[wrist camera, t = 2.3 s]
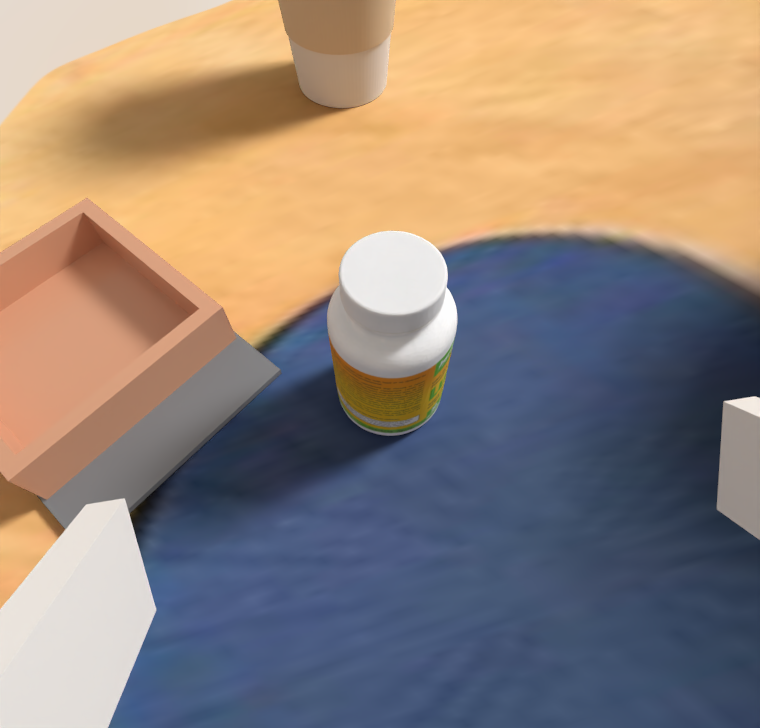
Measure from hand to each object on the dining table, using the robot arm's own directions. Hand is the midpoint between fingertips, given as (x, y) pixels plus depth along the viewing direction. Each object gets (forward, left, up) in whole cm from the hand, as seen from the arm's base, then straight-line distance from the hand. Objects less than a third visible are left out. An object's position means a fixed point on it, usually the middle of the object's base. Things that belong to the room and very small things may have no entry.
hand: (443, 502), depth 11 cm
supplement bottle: (+7, -6, -13) cm, 16 cm away
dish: (+21, +3, -13) cm, 24 cm away
